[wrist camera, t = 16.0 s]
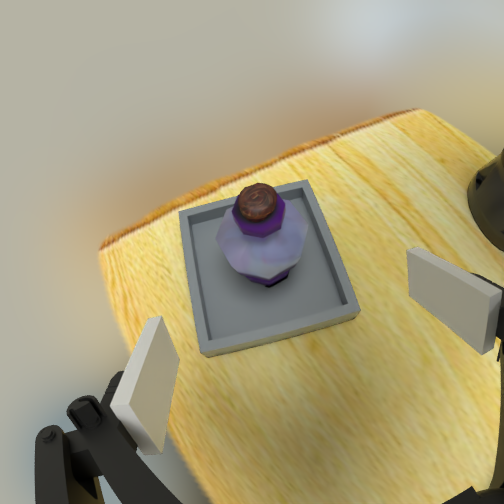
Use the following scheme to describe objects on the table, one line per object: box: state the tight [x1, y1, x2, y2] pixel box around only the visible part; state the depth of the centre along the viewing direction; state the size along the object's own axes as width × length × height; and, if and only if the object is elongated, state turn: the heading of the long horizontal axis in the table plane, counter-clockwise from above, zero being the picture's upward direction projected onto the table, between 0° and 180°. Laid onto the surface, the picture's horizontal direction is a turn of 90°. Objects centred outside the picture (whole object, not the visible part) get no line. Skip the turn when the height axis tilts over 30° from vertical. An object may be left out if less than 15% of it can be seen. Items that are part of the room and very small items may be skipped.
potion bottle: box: [215, 183, 308, 288], centre depth 29 cm, size 9×9×12 cm
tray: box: [179, 179, 361, 357], centre depth 34 cm, size 16×17×3 cm
